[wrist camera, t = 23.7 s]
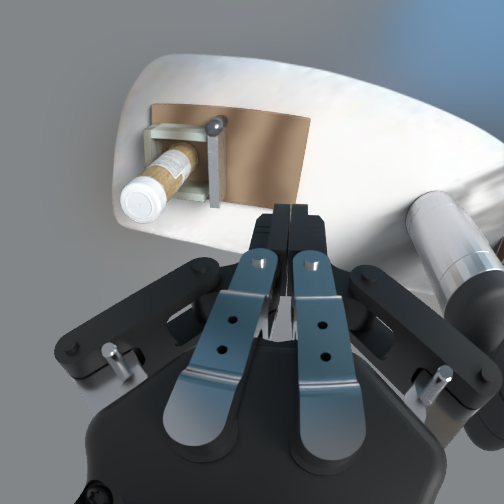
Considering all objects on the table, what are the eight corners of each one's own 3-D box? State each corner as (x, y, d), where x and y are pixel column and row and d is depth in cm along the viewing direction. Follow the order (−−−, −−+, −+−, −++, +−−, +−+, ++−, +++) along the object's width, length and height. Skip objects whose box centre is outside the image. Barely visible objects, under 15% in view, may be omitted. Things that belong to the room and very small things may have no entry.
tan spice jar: (185, 178, 40) (143, 233, 29) (161, 156, 38) (111, 204, 28) (206, 157, 38) (168, 207, 27) (181, 133, 36) (133, 174, 25)
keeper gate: (213, 114, 34) (204, 121, 31) (228, 114, 34) (220, 121, 31) (215, 193, 40) (207, 207, 37) (228, 194, 40) (221, 208, 37)
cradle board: (310, 118, 34) (311, 126, 30) (293, 208, 42) (292, 225, 38) (154, 103, 35) (139, 110, 31) (157, 189, 43) (144, 204, 39)
